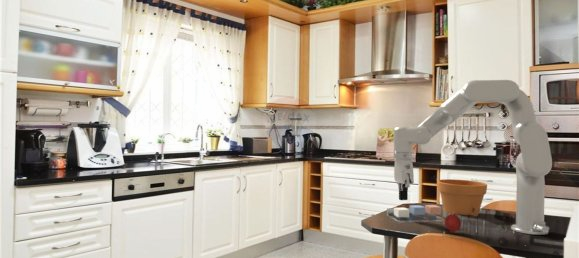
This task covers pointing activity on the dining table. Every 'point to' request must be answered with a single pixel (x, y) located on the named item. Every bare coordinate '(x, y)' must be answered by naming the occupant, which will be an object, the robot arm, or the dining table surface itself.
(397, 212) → the ivory key
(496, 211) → the dining table surface
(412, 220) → the clear tray
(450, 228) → the onion
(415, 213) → the slate key
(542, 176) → the robot arm
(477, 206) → the flower pot
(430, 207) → the pink square block
